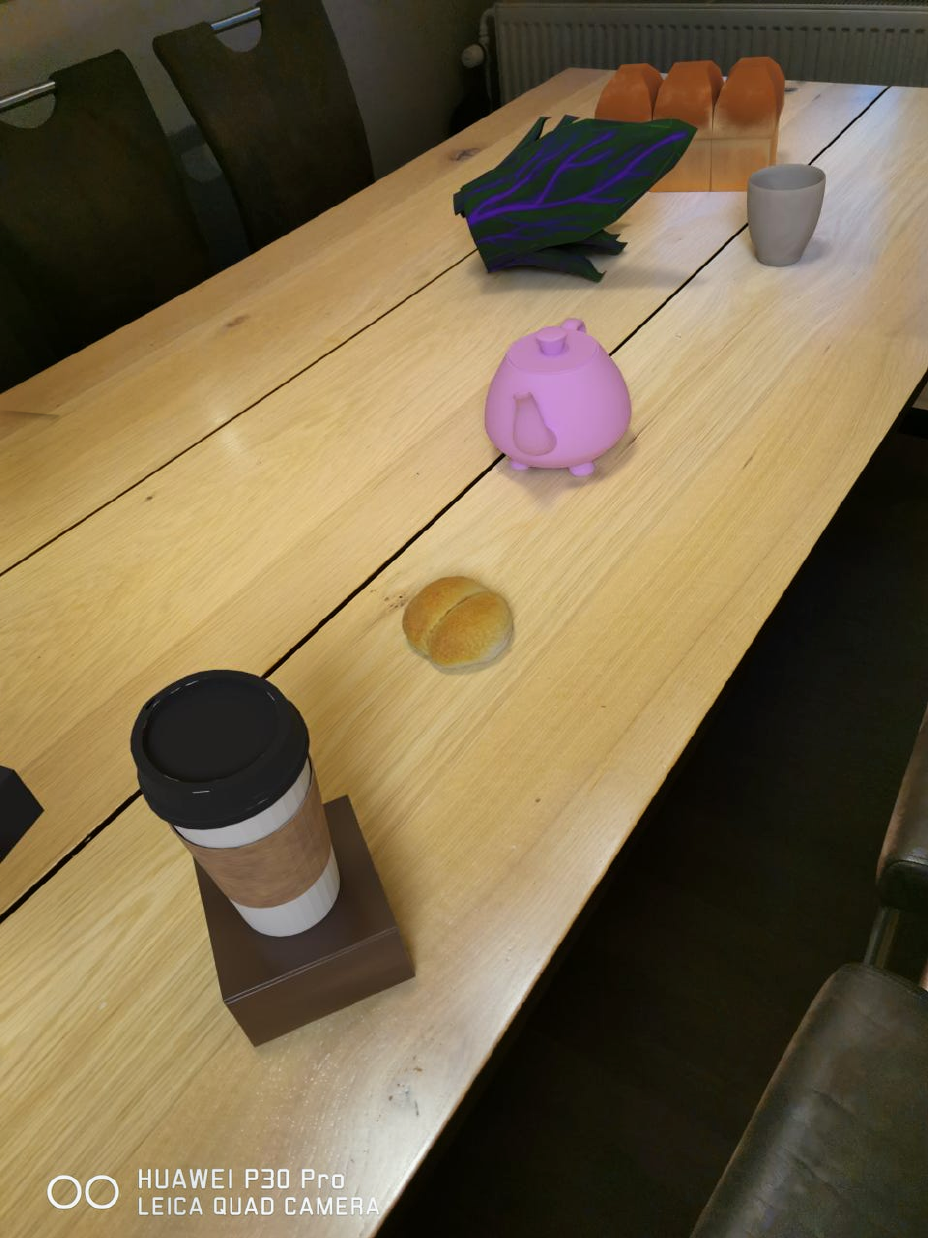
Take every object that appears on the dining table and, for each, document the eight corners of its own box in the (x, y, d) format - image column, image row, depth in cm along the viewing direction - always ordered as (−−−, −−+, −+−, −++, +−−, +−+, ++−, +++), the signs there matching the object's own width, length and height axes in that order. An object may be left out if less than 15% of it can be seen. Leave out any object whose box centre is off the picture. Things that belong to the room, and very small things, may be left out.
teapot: (602, 522, 85) (597, 400, 77) (455, 505, 90) (435, 389, 82) (650, 403, 98) (650, 288, 90) (520, 394, 103) (508, 284, 95)
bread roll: (462, 688, 73) (455, 652, 70) (390, 635, 78) (381, 600, 76) (538, 630, 76) (533, 594, 74) (464, 583, 82) (457, 547, 79)
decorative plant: (510, 314, 137) (718, 237, 128) (474, 328, 114) (725, 235, 104) (462, 166, 132) (676, 74, 122) (413, 148, 108) (674, 33, 99)
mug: (817, 271, 115) (827, 188, 108) (741, 273, 117) (746, 192, 110) (815, 230, 123) (824, 151, 116) (744, 233, 125) (749, 155, 118)
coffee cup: (272, 811, 59) (194, 642, 49) (388, 854, 56) (330, 682, 46) (189, 927, 54) (83, 764, 44) (311, 982, 51) (226, 819, 41)
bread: (595, 193, 142) (591, 83, 132) (614, 162, 150) (611, 57, 140) (769, 191, 134) (779, 74, 124) (779, 158, 142) (789, 47, 132)
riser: (222, 906, 62) (192, 855, 58) (366, 847, 64) (347, 793, 60) (254, 1048, 55) (222, 1001, 51) (415, 976, 57) (397, 926, 53)
